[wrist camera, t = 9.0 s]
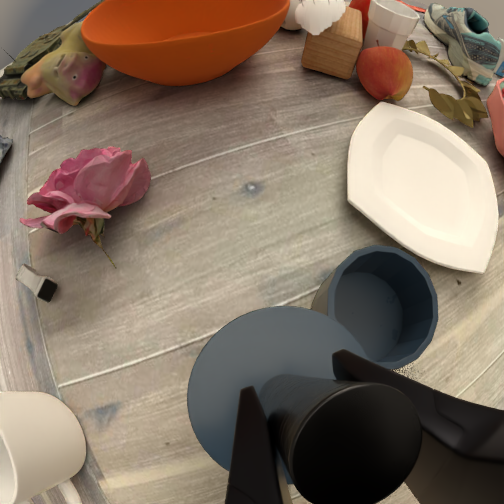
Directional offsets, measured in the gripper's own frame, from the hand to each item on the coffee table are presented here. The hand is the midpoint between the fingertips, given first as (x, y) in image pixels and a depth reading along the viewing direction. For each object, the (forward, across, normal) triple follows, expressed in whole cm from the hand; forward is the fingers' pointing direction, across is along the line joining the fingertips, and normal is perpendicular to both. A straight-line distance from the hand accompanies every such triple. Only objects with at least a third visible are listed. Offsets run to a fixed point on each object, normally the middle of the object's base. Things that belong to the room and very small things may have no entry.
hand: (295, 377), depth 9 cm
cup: (+32, -29, -12) cm, 45 cm away
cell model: (+18, -46, +2) cm, 49 cm away
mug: (+8, +20, +12) cm, 24 cm away
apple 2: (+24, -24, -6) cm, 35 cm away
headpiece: (+29, -34, -12) cm, 46 cm away
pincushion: (+27, -20, -18) cm, 38 cm away
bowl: (+37, -4, -17) cm, 41 cm away
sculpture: (+39, +14, -24) cm, 48 cm away
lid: (+3, 0, +5) cm, 6 cm away
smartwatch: (+19, +16, +2) cm, 25 cm away
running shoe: (+38, -60, -17) cm, 72 cm away
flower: (+23, +10, -2) cm, 25 cm away
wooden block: (+28, -19, -13) cm, 36 cm away
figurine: (+38, -25, -22) cm, 50 cm away
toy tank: (+50, +16, -29) cm, 60 cm away
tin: (+11, -9, +10) cm, 17 cm away
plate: (+17, -23, +3) cm, 29 cm away
